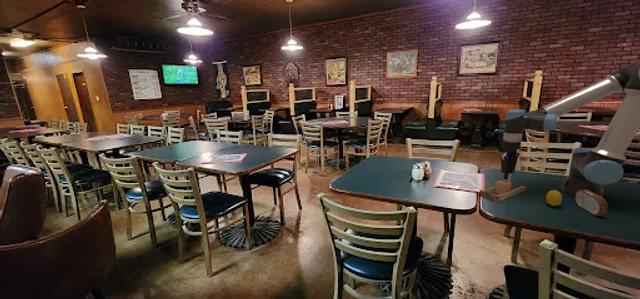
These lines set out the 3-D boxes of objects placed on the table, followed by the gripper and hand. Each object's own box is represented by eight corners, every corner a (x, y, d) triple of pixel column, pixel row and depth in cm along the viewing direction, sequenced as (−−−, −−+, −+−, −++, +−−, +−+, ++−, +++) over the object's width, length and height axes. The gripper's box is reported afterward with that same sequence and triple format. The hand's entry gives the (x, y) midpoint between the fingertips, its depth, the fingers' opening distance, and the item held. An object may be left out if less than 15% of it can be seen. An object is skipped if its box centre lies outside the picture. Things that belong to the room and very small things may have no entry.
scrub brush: (606, 219, 110) (610, 200, 108) (597, 219, 110) (601, 200, 109) (580, 203, 124) (583, 186, 122) (572, 203, 125) (575, 186, 123)
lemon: (557, 209, 119) (559, 193, 117) (542, 205, 124) (544, 189, 122) (563, 206, 122) (565, 190, 120) (548, 202, 127) (551, 186, 125)
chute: (525, 191, 140) (526, 185, 140) (497, 202, 129) (497, 196, 129) (507, 186, 148) (507, 180, 147) (478, 195, 137) (479, 190, 137)
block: (510, 193, 138) (511, 182, 136) (504, 195, 135) (505, 184, 134) (500, 190, 142) (501, 179, 140) (494, 192, 140) (495, 181, 138)
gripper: (511, 138, 140) (506, 180, 145) (496, 141, 134) (491, 185, 140) (527, 140, 133) (521, 184, 139) (512, 143, 128) (506, 189, 133)
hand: (506, 184), depth 139 cm, fingers closed
